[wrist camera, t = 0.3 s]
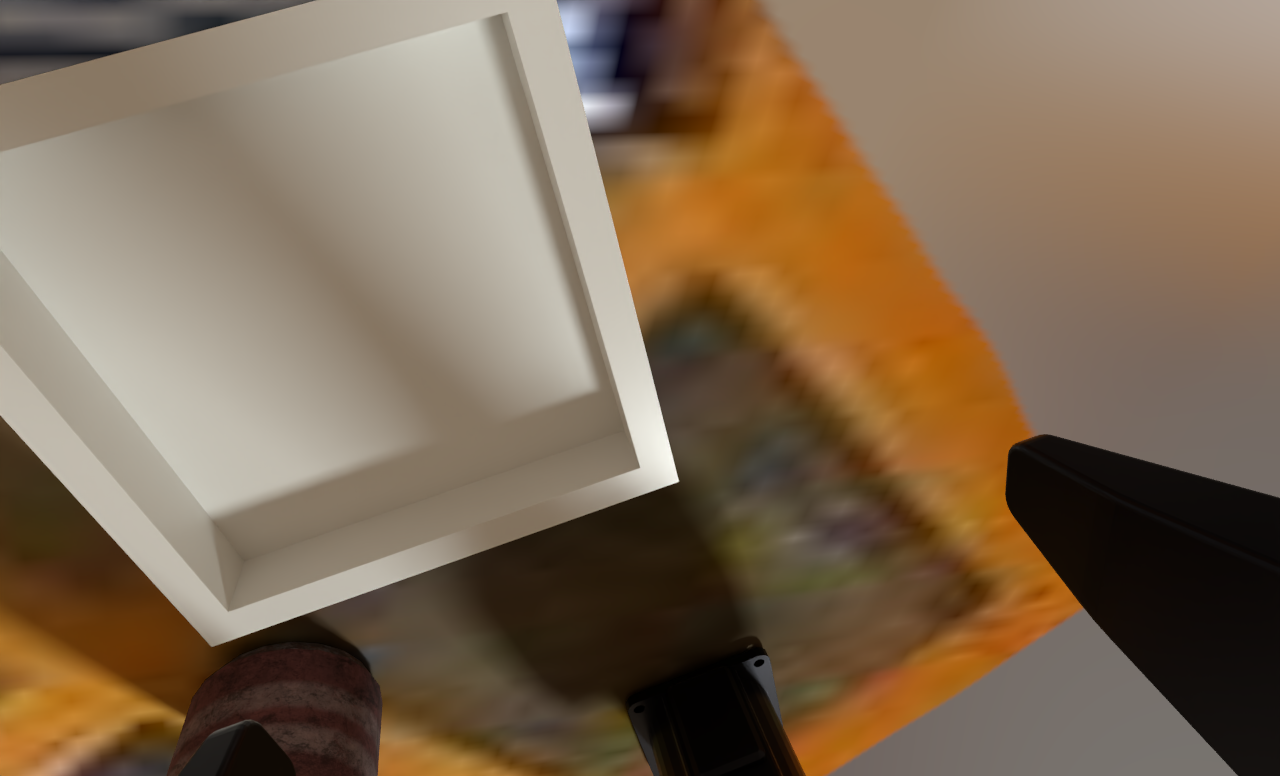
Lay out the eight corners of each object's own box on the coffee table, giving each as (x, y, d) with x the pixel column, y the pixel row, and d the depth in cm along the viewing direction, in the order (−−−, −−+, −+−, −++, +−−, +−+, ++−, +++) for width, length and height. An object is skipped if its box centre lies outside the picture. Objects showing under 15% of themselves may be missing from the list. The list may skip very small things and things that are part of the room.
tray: (653, 431, 23) (679, 481, 21) (235, 575, 22) (211, 647, 19) (524, -54, 16) (541, -60, 13) (-132, 121, 14) (-243, 149, 12)
